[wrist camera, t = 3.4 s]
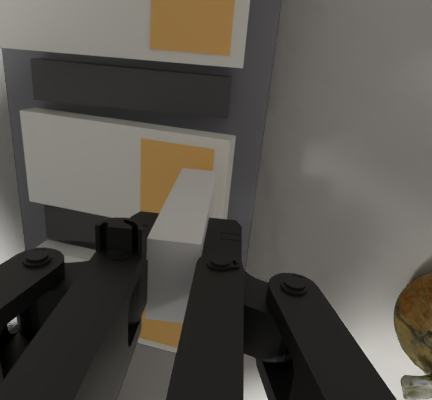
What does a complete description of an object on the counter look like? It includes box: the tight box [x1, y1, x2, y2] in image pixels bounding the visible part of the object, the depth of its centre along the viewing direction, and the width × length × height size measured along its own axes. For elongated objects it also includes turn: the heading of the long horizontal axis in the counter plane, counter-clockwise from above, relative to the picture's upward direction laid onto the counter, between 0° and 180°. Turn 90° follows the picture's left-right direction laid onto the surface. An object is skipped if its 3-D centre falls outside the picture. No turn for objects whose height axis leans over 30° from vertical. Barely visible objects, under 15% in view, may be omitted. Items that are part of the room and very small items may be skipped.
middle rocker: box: [20, 107, 236, 219], centre depth 19 cm, size 5×11×1 cm, turn 85°
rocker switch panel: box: [2, 0, 281, 270], centre depth 22 cm, size 26×14×4 cm, turn 175°
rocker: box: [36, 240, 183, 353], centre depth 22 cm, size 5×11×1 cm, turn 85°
